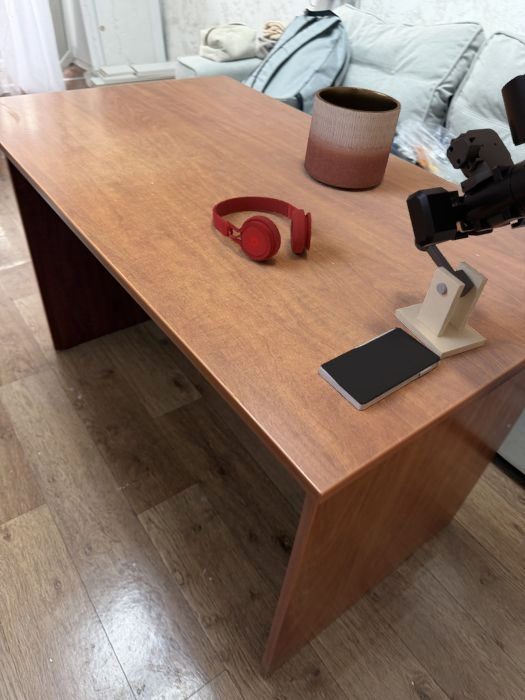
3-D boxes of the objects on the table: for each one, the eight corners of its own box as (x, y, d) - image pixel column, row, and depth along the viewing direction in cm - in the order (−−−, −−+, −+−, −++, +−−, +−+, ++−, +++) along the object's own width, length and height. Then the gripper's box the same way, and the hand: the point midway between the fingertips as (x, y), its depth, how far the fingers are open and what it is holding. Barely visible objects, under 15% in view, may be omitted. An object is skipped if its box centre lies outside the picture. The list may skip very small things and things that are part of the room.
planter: (368, 200, 100) (388, 119, 90) (290, 177, 105) (300, 98, 95) (391, 172, 112) (411, 98, 102) (321, 153, 117) (333, 80, 107)
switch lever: (406, 242, 69) (416, 226, 67) (423, 239, 70) (433, 223, 68) (448, 301, 65) (461, 287, 62) (465, 297, 66) (478, 283, 63)
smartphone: (317, 365, 61) (397, 325, 68) (316, 372, 62) (395, 331, 69) (363, 406, 56) (443, 359, 64) (360, 413, 57) (440, 365, 64)
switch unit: (394, 315, 72) (414, 258, 65) (435, 304, 75) (458, 248, 68) (439, 359, 65) (466, 301, 59) (482, 345, 68) (513, 288, 62)
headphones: (327, 255, 82) (270, 216, 96) (332, 213, 77) (271, 180, 92) (248, 272, 76) (200, 228, 90) (248, 228, 72) (198, 189, 86)
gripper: (569, 109, 56) (466, 165, 70) (446, 118, 49) (359, 178, 63) (591, 204, 56) (483, 241, 70) (471, 227, 49) (379, 262, 63)
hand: (429, 229), depth 67 cm, fingers closed, pressing on switch lever
